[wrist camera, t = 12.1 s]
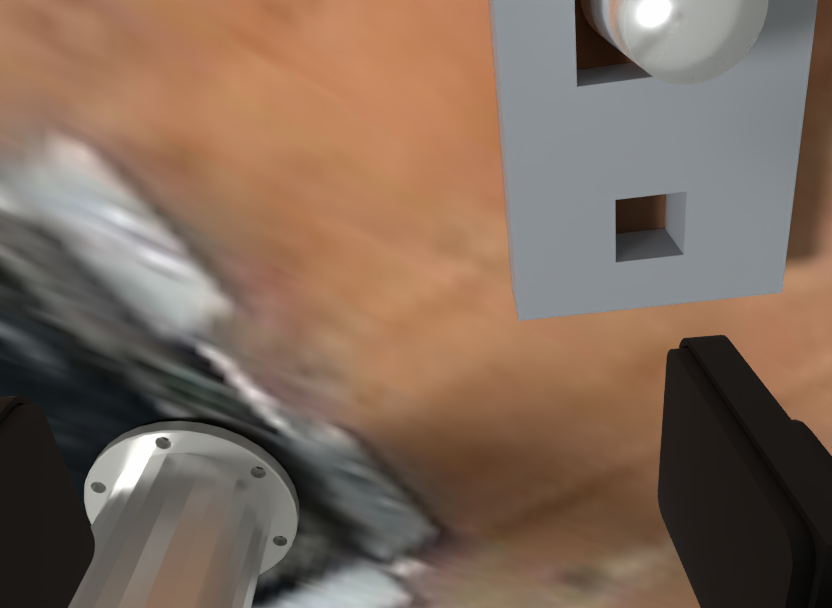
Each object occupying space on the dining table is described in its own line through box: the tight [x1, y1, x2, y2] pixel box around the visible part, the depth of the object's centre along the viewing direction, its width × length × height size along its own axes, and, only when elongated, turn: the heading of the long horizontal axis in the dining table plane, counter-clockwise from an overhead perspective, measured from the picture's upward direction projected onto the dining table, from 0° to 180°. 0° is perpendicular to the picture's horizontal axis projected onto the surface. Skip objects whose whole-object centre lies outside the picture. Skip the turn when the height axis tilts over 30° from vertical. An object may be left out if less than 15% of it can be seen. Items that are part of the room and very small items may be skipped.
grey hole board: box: [489, 0, 818, 321], centre depth 31 cm, size 18×12×3 cm, turn 8°
